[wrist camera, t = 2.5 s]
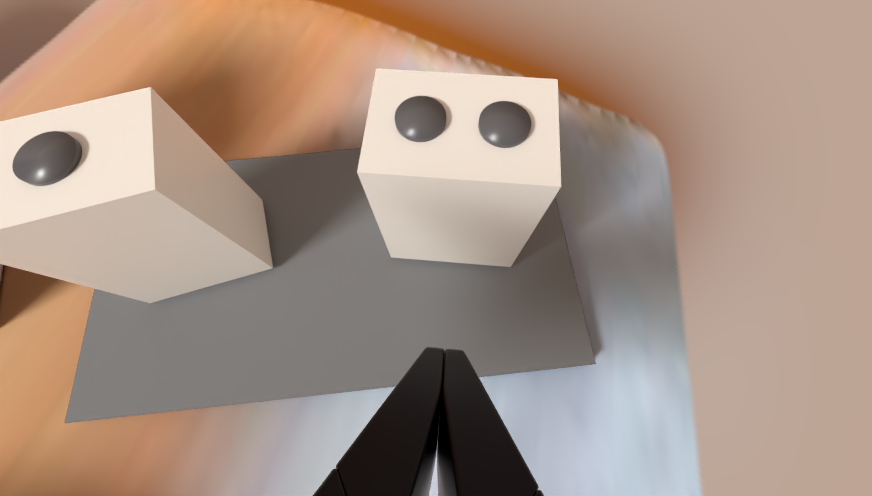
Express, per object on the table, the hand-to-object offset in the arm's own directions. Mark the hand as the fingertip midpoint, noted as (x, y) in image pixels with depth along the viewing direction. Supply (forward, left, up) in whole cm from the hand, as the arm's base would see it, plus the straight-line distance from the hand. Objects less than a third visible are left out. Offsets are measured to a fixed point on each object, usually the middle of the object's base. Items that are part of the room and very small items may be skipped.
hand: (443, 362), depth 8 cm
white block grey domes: (+5, -5, -9) cm, 11 cm away
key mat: (+8, +1, -10) cm, 13 cm away
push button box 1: (+12, +5, -9) cm, 16 cm away
